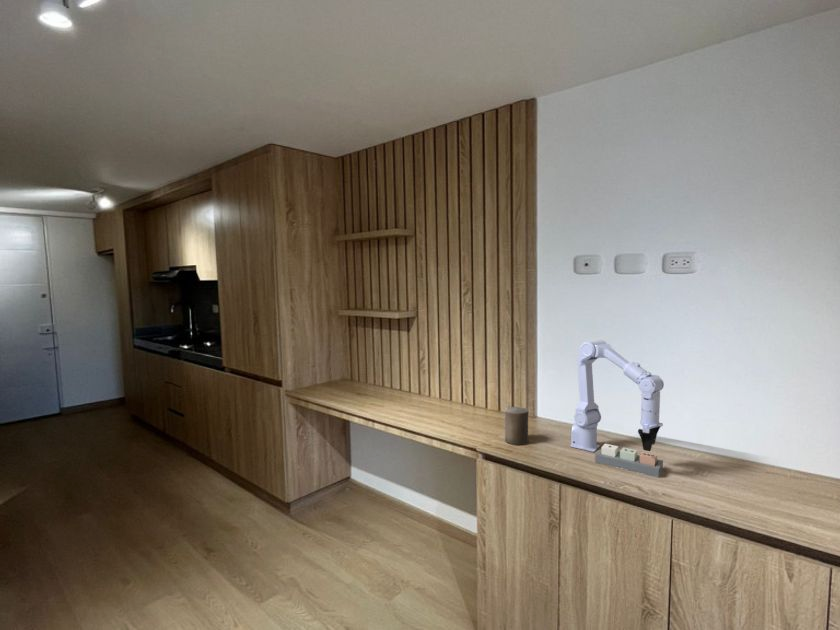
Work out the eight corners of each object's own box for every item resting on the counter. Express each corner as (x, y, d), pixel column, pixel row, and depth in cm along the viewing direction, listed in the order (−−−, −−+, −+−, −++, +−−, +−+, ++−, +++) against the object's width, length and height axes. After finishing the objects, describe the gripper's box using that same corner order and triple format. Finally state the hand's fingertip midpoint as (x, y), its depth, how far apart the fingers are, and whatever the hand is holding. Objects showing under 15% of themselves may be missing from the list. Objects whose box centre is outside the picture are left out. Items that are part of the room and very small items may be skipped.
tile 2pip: (619, 462, 158) (620, 450, 158) (622, 457, 162) (623, 446, 161) (634, 465, 155) (634, 453, 155) (637, 460, 159) (637, 449, 158)
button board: (595, 462, 161) (595, 454, 161) (601, 454, 168) (602, 447, 168) (658, 477, 148) (658, 469, 148) (662, 468, 156) (663, 460, 155)
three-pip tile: (639, 466, 154) (639, 455, 154) (642, 462, 158) (642, 450, 157) (654, 470, 151) (654, 458, 151) (656, 465, 155) (657, 454, 154)
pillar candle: (528, 446, 178) (529, 410, 177) (504, 444, 180) (504, 409, 178) (527, 437, 187) (528, 404, 186) (504, 436, 189) (504, 402, 188)
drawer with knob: (601, 457, 162) (601, 446, 162) (604, 453, 166) (605, 443, 165) (614, 460, 159) (615, 449, 159) (618, 456, 163) (618, 445, 162)
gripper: (659, 416, 145) (658, 456, 146) (666, 406, 156) (664, 443, 157) (636, 413, 149) (635, 451, 150) (644, 403, 160) (643, 439, 161)
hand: (649, 447), depth 154 cm, fingers open, 7 cm apart
